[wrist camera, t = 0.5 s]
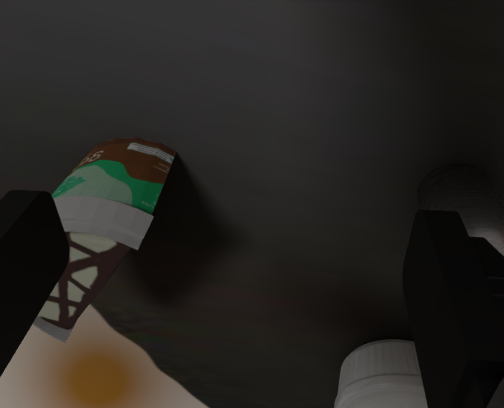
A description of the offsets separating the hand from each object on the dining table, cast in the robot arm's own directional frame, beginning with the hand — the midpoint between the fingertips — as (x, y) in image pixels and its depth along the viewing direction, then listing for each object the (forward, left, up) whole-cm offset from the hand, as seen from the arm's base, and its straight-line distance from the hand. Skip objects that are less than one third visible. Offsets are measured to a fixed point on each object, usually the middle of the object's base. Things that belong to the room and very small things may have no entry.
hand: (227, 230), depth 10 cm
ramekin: (+27, +24, -18) cm, 40 cm away
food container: (+16, -6, -18) cm, 25 cm away
